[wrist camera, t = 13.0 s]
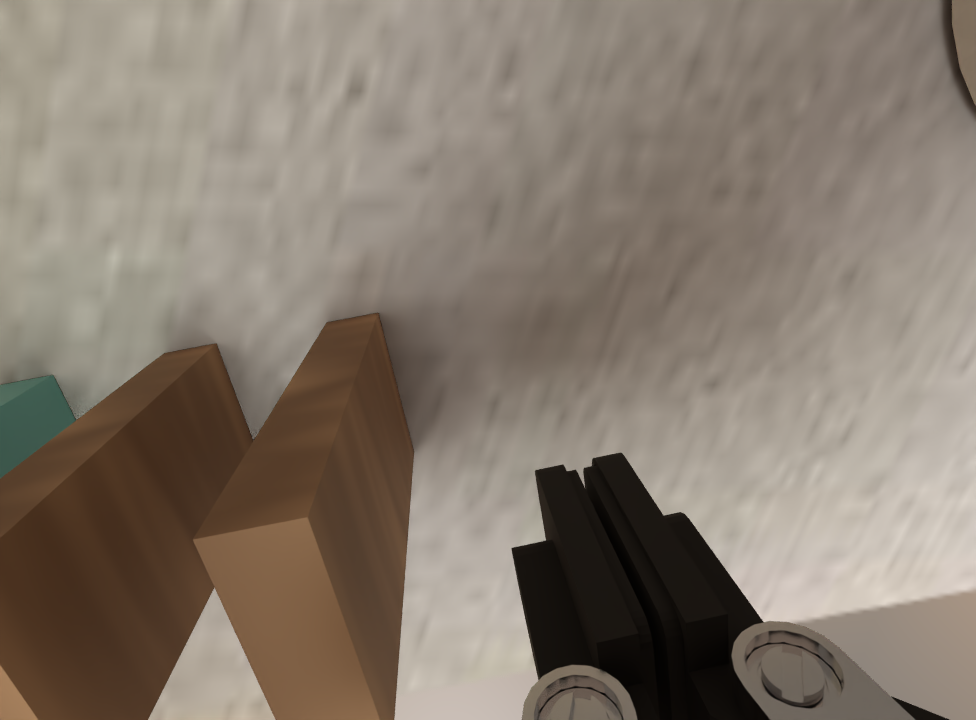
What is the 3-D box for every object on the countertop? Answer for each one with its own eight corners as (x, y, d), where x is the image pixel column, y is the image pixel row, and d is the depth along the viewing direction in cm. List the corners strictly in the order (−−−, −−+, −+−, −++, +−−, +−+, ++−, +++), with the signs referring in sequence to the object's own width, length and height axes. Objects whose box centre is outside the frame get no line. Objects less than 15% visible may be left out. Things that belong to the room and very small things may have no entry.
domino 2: (378, 312, 17) (307, 517, 8) (413, 452, 19) (391, 752, 10) (326, 322, 17) (192, 539, 8) (367, 461, 19) (299, 771, 9)
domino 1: (216, 343, 17) (-55, 587, 8) (268, 480, 19) (101, 811, 9) (164, 353, 17) (-172, 610, 8) (221, 489, 19) (7, 830, 9)
